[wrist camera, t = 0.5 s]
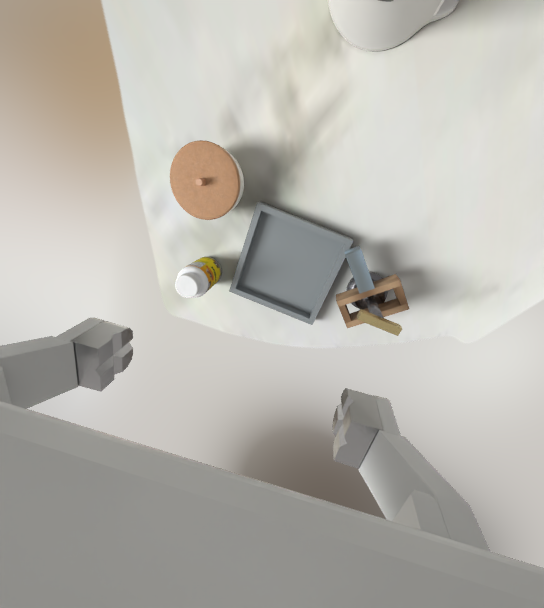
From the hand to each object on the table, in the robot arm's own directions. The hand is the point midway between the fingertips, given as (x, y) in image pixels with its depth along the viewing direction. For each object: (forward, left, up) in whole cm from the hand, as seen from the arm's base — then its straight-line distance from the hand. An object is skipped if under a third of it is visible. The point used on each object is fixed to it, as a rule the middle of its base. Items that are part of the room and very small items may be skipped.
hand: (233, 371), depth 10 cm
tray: (+8, 0, -42) cm, 43 cm away
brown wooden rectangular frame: (+5, +13, -38) cm, 41 cm away
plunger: (+7, +15, -42) cm, 45 cm away
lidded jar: (-1, -16, -42) cm, 45 cm away
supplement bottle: (+15, -14, -42) cm, 47 cm away
